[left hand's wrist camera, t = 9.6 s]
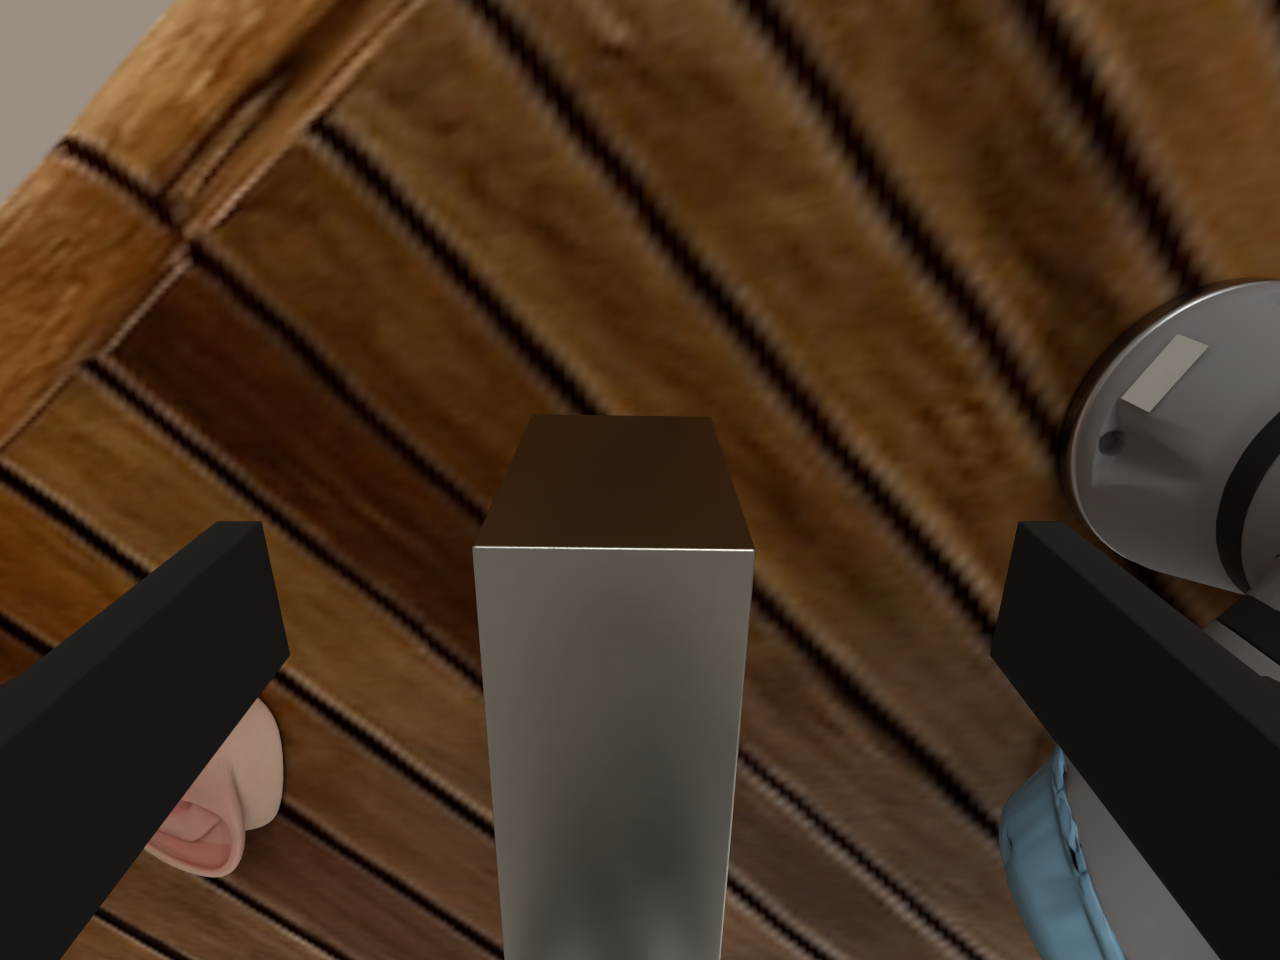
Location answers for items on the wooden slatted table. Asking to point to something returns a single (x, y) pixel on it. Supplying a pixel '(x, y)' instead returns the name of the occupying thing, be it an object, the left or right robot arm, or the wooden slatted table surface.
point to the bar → (614, 685)
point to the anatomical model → (226, 800)
